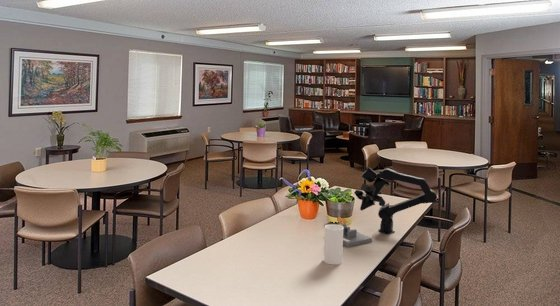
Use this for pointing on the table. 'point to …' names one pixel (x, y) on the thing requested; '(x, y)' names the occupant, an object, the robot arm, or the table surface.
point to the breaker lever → (343, 223)
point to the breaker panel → (354, 238)
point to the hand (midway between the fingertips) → (360, 210)
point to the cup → (333, 244)
